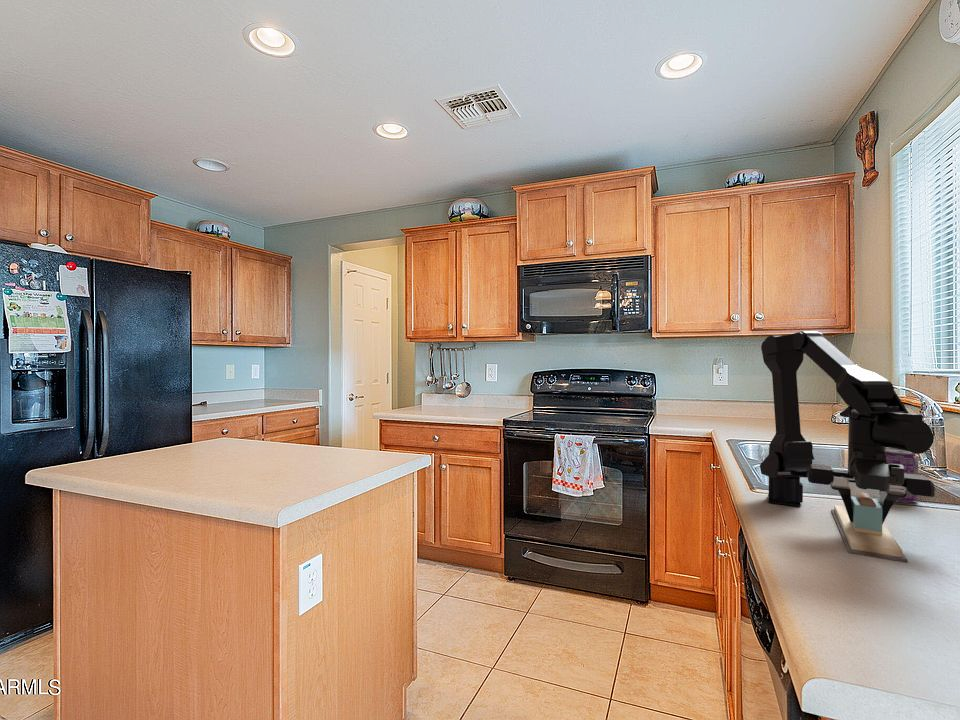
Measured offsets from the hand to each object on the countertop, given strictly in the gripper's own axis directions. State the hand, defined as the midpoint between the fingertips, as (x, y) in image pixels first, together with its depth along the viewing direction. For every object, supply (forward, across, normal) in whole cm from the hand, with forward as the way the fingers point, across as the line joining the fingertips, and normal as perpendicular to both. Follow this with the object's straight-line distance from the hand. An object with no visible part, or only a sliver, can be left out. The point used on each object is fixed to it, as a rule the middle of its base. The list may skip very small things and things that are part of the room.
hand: (865, 523), depth 95 cm
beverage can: (+3, +11, +34) cm, 36 cm away
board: (+2, 0, +2) cm, 3 cm away
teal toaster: (+1, 0, 0) cm, 1 cm away
